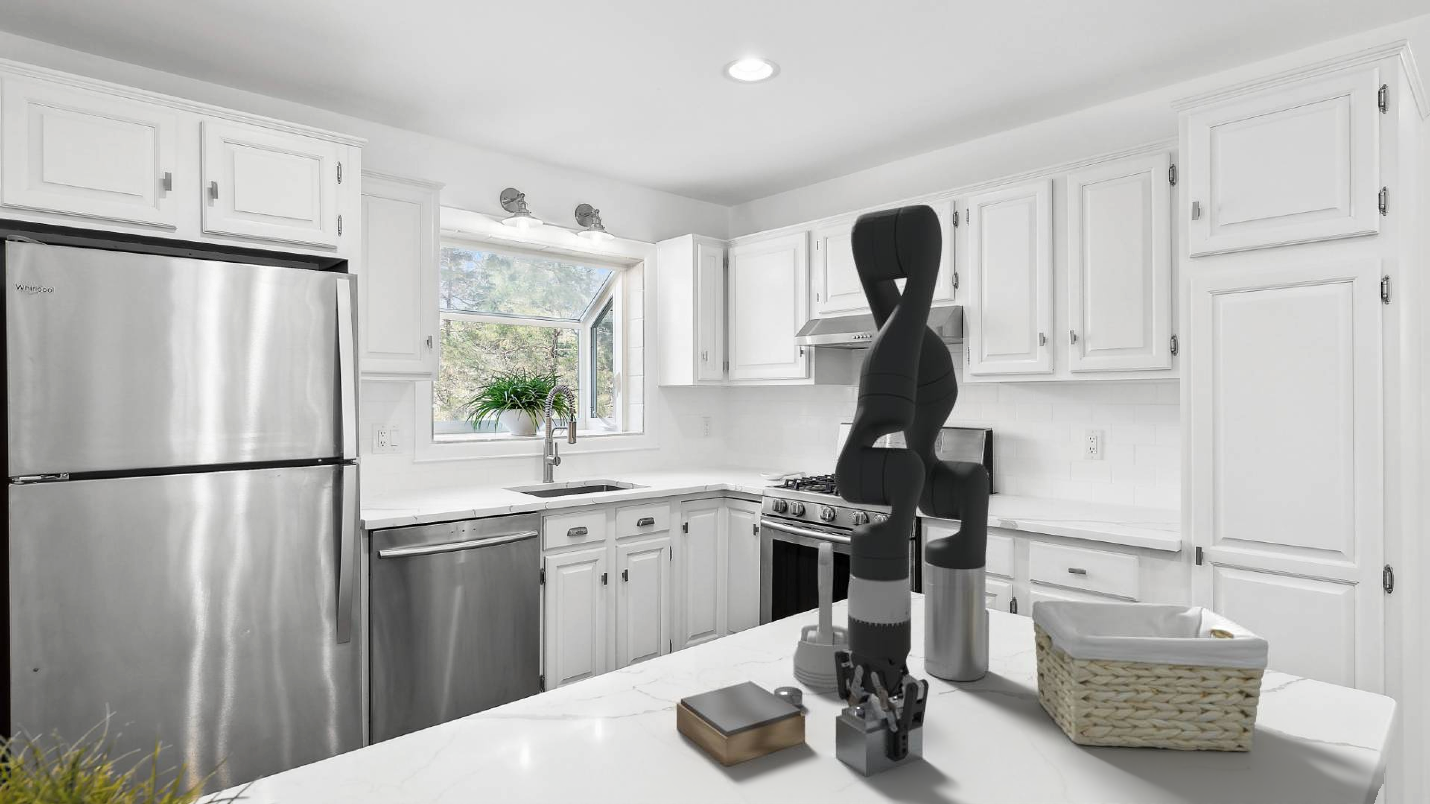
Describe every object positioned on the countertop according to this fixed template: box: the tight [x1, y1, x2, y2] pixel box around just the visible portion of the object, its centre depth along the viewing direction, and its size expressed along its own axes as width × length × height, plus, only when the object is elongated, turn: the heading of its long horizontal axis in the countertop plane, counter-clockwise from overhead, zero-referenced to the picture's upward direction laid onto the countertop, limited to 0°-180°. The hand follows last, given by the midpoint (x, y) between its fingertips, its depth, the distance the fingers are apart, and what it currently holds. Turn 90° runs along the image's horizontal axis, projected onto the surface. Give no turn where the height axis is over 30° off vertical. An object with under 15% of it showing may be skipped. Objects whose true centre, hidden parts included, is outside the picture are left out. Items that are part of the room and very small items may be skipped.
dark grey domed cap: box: [773, 686, 803, 710], centre depth 108 cm, size 4×4×2 cm
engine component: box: [792, 542, 850, 689], centre depth 120 cm, size 11×20×10 cm
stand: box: [676, 680, 806, 768], centre depth 99 cm, size 12×12×4 cm
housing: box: [835, 695, 924, 778], centre depth 93 cm, size 9×6×7 cm, turn 120°
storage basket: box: [1031, 600, 1270, 752], centre depth 101 cm, size 24×16×15 cm
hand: (878, 748), depth 93 cm, fingers closed on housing, 5 cm apart
